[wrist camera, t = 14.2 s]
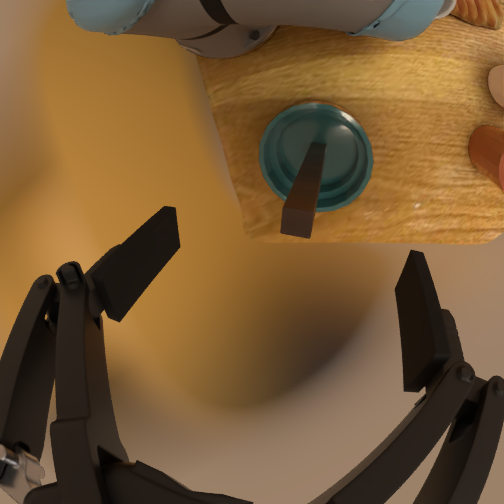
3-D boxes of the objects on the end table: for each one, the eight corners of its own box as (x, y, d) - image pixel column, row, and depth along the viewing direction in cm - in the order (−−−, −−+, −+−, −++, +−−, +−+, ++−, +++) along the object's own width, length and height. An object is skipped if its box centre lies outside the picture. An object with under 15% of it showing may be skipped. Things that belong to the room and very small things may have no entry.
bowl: (273, 95, 32) (261, 97, 27) (374, 110, 29) (381, 115, 24) (268, 185, 39) (256, 202, 34) (358, 201, 36) (360, 221, 32)
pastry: (444, 24, 19) (455, 19, 16) (427, -19, 15) (435, -28, 12) (498, 31, 15) (512, 29, 12) (483, -11, 12) (494, -16, 9)
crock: (473, 118, 24) (506, 131, 17) (510, 135, 23) (544, 153, 16) (463, 165, 28) (492, 190, 21) (499, 179, 27) (529, 206, 20)
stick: (311, 141, 33) (282, 206, 17) (327, 144, 33) (314, 212, 17) (309, 156, 34) (280, 233, 19) (325, 159, 34) (310, 239, 18)
